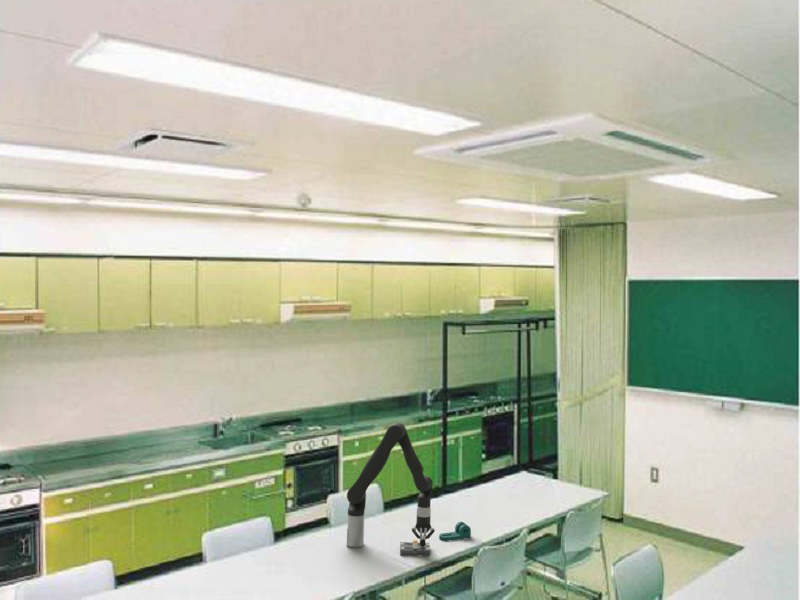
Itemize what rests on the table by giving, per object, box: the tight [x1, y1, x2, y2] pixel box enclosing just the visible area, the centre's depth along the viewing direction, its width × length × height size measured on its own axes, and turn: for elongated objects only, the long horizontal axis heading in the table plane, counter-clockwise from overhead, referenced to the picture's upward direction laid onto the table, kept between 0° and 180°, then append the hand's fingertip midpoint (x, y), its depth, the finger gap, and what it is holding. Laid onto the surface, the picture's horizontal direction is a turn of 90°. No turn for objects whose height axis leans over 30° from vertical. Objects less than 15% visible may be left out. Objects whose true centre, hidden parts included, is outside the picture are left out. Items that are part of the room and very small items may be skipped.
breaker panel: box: [399, 541, 431, 557], centre depth 376 cm, size 16×11×3 cm
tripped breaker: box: [412, 539, 419, 549], centre depth 373 cm, size 2×3×4 cm
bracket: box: [438, 521, 472, 542], centre depth 398 cm, size 18×7×8 cm, turn 111°
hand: (422, 546), depth 373 cm, fingers closed
